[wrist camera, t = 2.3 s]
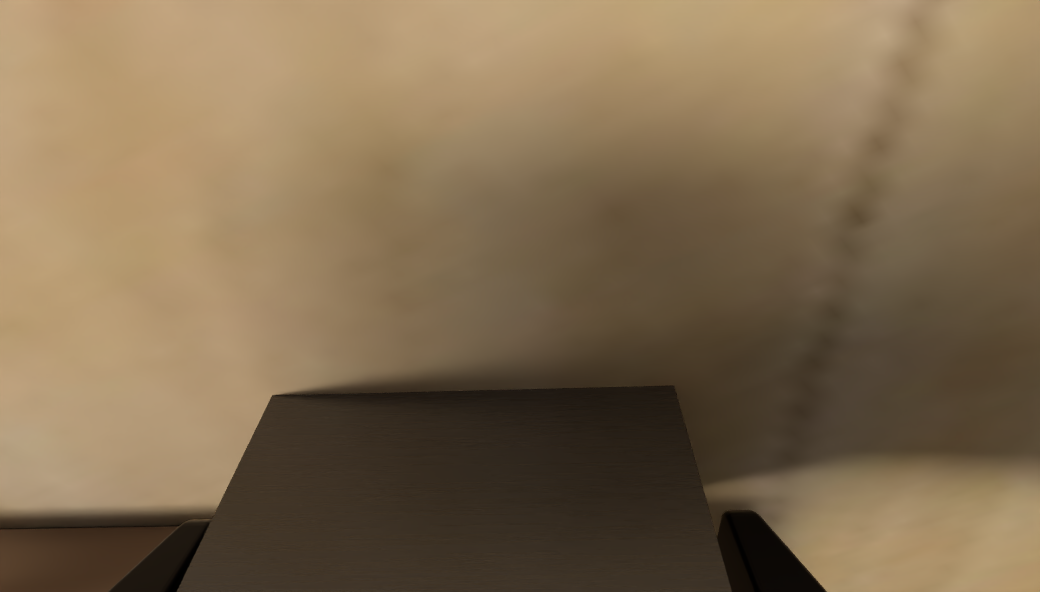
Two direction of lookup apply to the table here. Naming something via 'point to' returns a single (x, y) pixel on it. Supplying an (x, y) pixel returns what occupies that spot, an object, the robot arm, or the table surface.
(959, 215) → the table surface
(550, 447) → the marking gauge
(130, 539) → the walnut board
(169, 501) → the table surface
